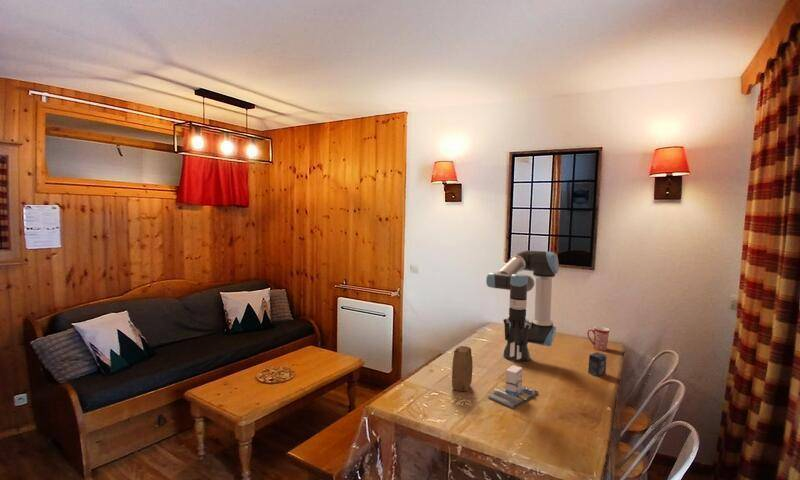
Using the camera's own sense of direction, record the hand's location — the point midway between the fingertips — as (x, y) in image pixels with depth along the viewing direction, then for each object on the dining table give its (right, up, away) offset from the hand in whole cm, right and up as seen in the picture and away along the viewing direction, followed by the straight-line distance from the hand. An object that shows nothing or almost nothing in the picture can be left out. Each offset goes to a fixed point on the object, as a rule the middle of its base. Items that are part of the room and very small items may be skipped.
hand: (515, 357), depth 181 cm
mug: (+74, -16, +71) cm, 104 cm away
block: (-23, -18, +9) cm, 31 cm away
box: (+53, -18, +30) cm, 64 cm away
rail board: (0, -18, +1) cm, 19 cm away
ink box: (-1, -17, +1) cm, 18 cm away
